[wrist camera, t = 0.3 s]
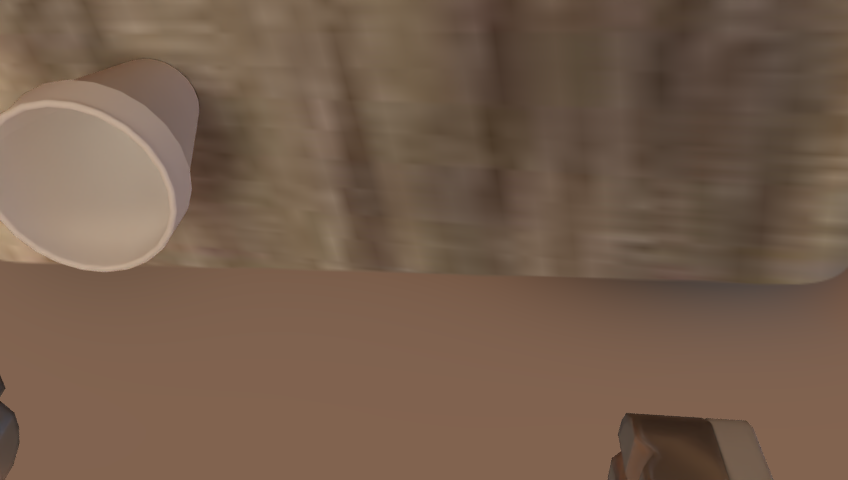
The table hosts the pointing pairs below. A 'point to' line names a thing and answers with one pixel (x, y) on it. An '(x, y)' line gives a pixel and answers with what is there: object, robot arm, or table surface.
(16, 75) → the table surface
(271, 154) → the table surface
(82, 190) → the flower pot
